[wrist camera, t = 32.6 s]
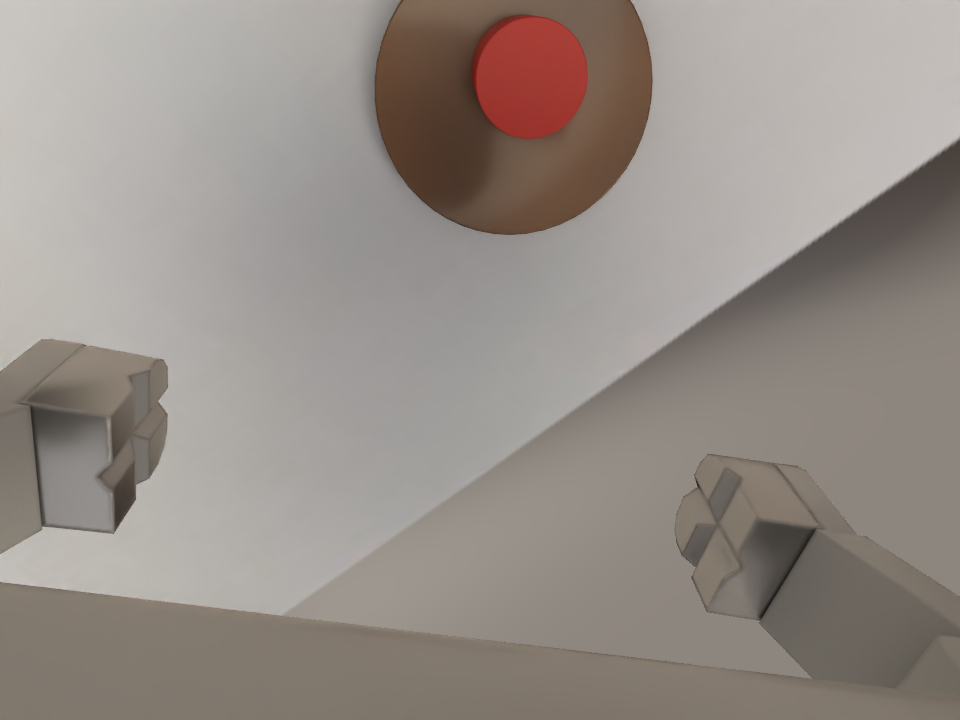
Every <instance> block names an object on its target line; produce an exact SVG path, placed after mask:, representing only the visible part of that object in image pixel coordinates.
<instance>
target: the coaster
mask: <svg viewBox="0 0 960 720" xmlns="http://www.w3.org/2000/svg"><path fill="white" fill-rule="evenodd" d="M515 15H533V16H540V17H546V18H549V19H552V20H555V21H557V22H559V23H560V24H562V25H563V26H565V27H566V28H568V29H569V30H570V31H571V32H572V33H573V35H574V36H575V37H576V38H577V40H578V41H579V43H580V45H581V47H582V49H583V51H584V54H585V57H586V61H587V67H588V82H587V89H586V93H585V96H584V99H583V102H582V104H581V106H580V108H579V109H578V111H577V112H576V114H575V115H574V116H573V118H572V119H571V120H570V121H569V122H568V123H567V124H566V125H565V126H564V127H562V128H561V129H559V130H558V131H556V132H554V133H552V134H550V135H548V136H545V137H541V138H535V139H523V138H517V137H514V136H511V135H509V134H507V133H504V132H503V131H501V130H500V129H498V128H497V127H496V126H495V125H494V124H493V123H492V122H491V121H490V120H489V119H488V118H487V116H486V115H485V113H484V112H483V110H482V108H481V106H480V103H479V101H478V98H477V95H476V93H475V90H474V86H473V82H472V61H473V57H474V53H475V50H476V48H477V45H478V43H479V42H480V40H481V38H482V37H483V36H484V34H485V33H486V32H487V31H488V30H489V29H490V28H491V27H492V26H493V25H495V24H496V23H498V22H499V21H501V20H503V19H505V18H508V17H511V16H515ZM651 96H652V64H651V57H650V51H649V46H648V41H647V38H646V35H645V32H644V29H643V25H642V22H641V20H640V18H639V16H638V14H637V12H636V10H635V8H634V6H633V4H632V2H631V1H630V0H401V2H400V3H399V5H398V7H397V9H396V10H395V12H394V14H393V16H392V18H391V20H390V22H389V24H388V27H387V29H386V32H385V34H384V37H383V40H382V43H381V47H380V51H379V55H378V59H377V66H376V75H375V105H376V113H377V120H378V124H379V128H380V132H381V136H382V139H383V142H384V144H385V147H386V149H387V152H388V154H389V157H390V158H391V160H392V162H393V164H394V166H395V168H396V169H397V171H398V173H399V174H400V175H401V177H402V178H403V180H404V181H405V182H406V184H407V185H408V186H409V188H410V189H411V190H412V191H413V192H414V193H415V194H416V195H417V196H418V197H419V198H420V199H421V200H422V201H423V202H424V203H426V204H427V205H428V206H429V207H430V208H432V209H433V210H434V211H436V212H437V213H439V214H441V215H442V216H444V217H445V218H447V219H449V220H451V221H453V222H455V223H457V224H459V225H462V226H464V227H467V228H471V229H474V230H477V231H481V232H487V233H492V234H506V235H514V234H527V233H532V232H537V231H542V230H545V229H548V228H551V227H554V226H557V225H560V224H562V223H564V222H566V221H568V220H570V219H572V218H574V217H576V216H577V215H579V214H581V213H582V212H584V211H585V210H587V209H588V208H590V207H591V206H592V205H593V204H595V203H596V202H597V201H598V200H599V199H601V198H602V197H603V196H604V195H605V194H606V193H607V192H608V191H609V190H610V189H611V188H612V186H613V185H614V184H615V183H616V182H617V180H618V179H619V178H620V176H621V175H622V174H623V172H624V171H625V170H626V168H627V166H628V165H629V163H630V161H631V160H632V158H633V156H634V154H635V152H636V150H637V148H638V145H639V143H640V141H641V139H642V136H643V133H644V130H645V126H646V123H647V120H648V115H649V110H650V104H651Z"/></svg>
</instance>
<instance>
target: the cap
mask: <svg viewBox="0 0 960 720" xmlns="http://www.w3.org/2000/svg"><path fill="white" fill-rule="evenodd" d="M472 82H473V86H474V90H475V93H476V95H477V98H478V101H479V103H480V106H481V108H482V110H483V112H484V113H485V115H486V116H487V118H488V119H489V120H490V121H491V122H492V123H493V124H494V125H495V126H496V127H497V128H498V129H500V130H501V131H503V132H504V133H507V134H509V135H511V136H514V137H517V138H523V139H535V138H541V137H545V136H548V135H550V134H552V133H554V132H556V131H558V130H559V129H561V128H562V127H564V126H565V125H566V124H567V123H568V122H569V121H570V120H571V119H572V118H573V116H574V115H575V114H576V112H577V111H578V109H579V108H580V106H581V104H582V102H583V99H584V96H585V93H586V89H587V82H588V67H587V61H586V57H585V54H584V51H583V49H582V47H581V45H580V43H579V41H578V40H577V38H576V37H575V36H574V35H573V33H572V32H571V31H570V30H569V29H568V28H566V27H565V26H563V25H562V24H560V23H559V22H557V21H555V20H552V19H549V18H546V17H540V16H533V15H515V16H511V17H508V18H505V19H503V20H501V21H499V22H498V23H496V24H495V25H493V26H492V27H491V28H490V29H489V30H488V31H487V32H486V33H485V34H484V36H483V37H482V38H481V40H480V42H479V43H478V45H477V48H476V50H475V53H474V57H473V61H472Z"/></svg>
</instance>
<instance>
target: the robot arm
mask: <svg viewBox="0 0 960 720" xmlns="http://www.w3.org/2000/svg"><path fill="white" fill-rule="evenodd" d="M167 388H168V368H167V365H166V363H165V362H164V360H163V359H158V358H153V357H147V356H142V355H137V354H132V353H126V352H121V351H116V350H111V349H105V348H100V347H95V346H87V345H85V344H81V343H74V342H68V341H61V340H55V339H41V340H40V341H38V342H37V343H36V344H35V345H33V346H32V347H31V348H30V349H28V350H27V351H26V352H25V353H23V354H22V355H21V356H20V357H18V358H17V359H16V360H14V361H13V362H12V363H11V364H9V365H8V366H7V367H6V368H4V369H3V370H2V371H1V372H0V554H1V553H3V552H4V551H6V550H8V549H9V548H11V547H13V546H15V545H16V544H18V543H20V542H22V541H23V540H25V539H27V538H28V537H30V536H32V535H34V534H35V533H37V532H39V531H40V530H42V526H45V527H55V528H64V529H74V530H83V531H93V532H102V533H112V534H114V532H115V531H116V529H117V528H118V526H119V525H120V523H121V522H122V520H123V519H124V517H125V515H126V514H127V512H128V511H129V509H130V508H131V506H132V505H133V503H134V502H135V500H136V484H138V483H140V482H142V481H145V480H147V479H149V478H150V476H151V475H152V473H153V471H154V470H155V468H156V467H157V465H158V462H159V460H160V457H161V454H162V451H163V448H164V445H165V439H166V433H167V417H168V414H167V413H166V412H165V410H164V409H163V408H162V406H161V405H160V404H159V402H158V401H159V399H160V398H161V397H162V395H163V394H164V392H165V391H166V390H167ZM694 476H695V479H696V483H697V486H698V487H697V488H696V489H694V490H693V491H691V492H690V493H688V494H687V495H685V496H684V497H683V499H682V501H681V504H680V506H679V509H678V511H677V514H676V523H675V535H676V542H677V545H678V547H679V550H680V552H681V555H682V556H683V557H684V558H685V559H687V560H688V561H689V562H690V563H691V564H692V565H693V566H695V567H696V569H695V571H694V573H693V575H692V580H693V582H694V584H695V587H696V589H697V591H698V593H699V595H700V598H701V600H702V602H703V604H704V607H705V609H706V611H707V612H709V613H715V614H722V615H728V616H734V617H740V618H746V619H753V620H759V621H760V622H759V623H760V625H761V626H762V627H763V628H765V630H766V631H767V632H768V633H769V634H770V635H771V636H772V637H773V638H774V639H775V640H776V641H777V642H778V643H779V644H780V645H781V646H782V647H783V648H784V649H785V650H786V652H787V653H788V654H789V655H790V656H791V657H792V658H793V659H794V660H795V661H796V662H797V663H798V664H799V665H800V666H801V667H802V668H803V669H804V670H805V671H806V672H807V673H808V674H809V675H810V676H811V677H812V678H813V679H810V678H801V677H793V676H785V675H777V674H768V673H760V672H751V671H742V670H734V669H726V668H718V667H709V666H700V665H692V664H684V663H676V662H667V661H659V660H650V659H641V658H634V657H625V656H616V655H608V654H599V653H592V652H583V651H575V650H566V649H558V648H549V647H540V646H532V645H523V644H515V643H506V642H497V641H490V640H481V639H473V638H464V637H456V636H448V635H439V634H430V633H422V632H413V631H405V630H397V629H389V628H380V627H372V626H363V625H355V624H346V623H338V622H330V621H322V620H313V619H305V618H297V617H288V616H280V615H271V614H263V613H255V612H246V611H238V610H229V609H221V608H213V607H204V606H196V605H187V604H179V603H171V602H162V601H154V600H145V599H137V598H129V597H120V596H112V595H103V594H95V593H87V592H78V591H70V590H61V589H53V588H45V587H36V586H28V585H19V584H11V583H3V582H0V720H960V596H958V595H956V594H955V593H953V592H952V591H950V590H949V589H947V588H946V587H944V586H942V585H941V584H939V583H938V582H936V581H935V580H933V579H932V578H930V577H928V576H927V575H925V574H923V573H922V572H921V571H919V570H917V569H916V568H915V567H913V566H911V565H910V564H908V563H907V562H905V561H904V560H902V559H900V558H899V557H897V556H896V555H894V554H893V553H891V552H890V551H888V550H887V549H885V548H883V547H882V546H880V545H879V544H877V543H876V542H874V541H873V540H871V539H869V538H868V537H865V536H859V535H857V534H856V533H855V531H854V530H853V529H852V528H851V526H850V525H849V524H848V523H847V522H846V520H845V519H844V518H843V516H842V515H841V514H840V513H839V511H838V510H837V509H836V508H835V506H834V505H833V504H832V503H831V501H830V500H829V499H828V498H827V496H826V495H825V494H824V493H823V491H822V490H821V489H820V488H819V486H818V485H817V484H816V483H815V482H814V480H813V479H812V478H811V476H810V475H809V474H808V473H807V472H806V470H804V469H802V468H799V467H798V466H793V465H785V464H778V463H777V464H776V463H770V462H762V461H755V460H748V459H741V458H734V457H728V456H721V455H713V454H708V455H706V456H705V458H704V459H703V460H702V461H701V462H700V464H699V466H698V467H697V470H696V472H695V474H694Z"/></svg>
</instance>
